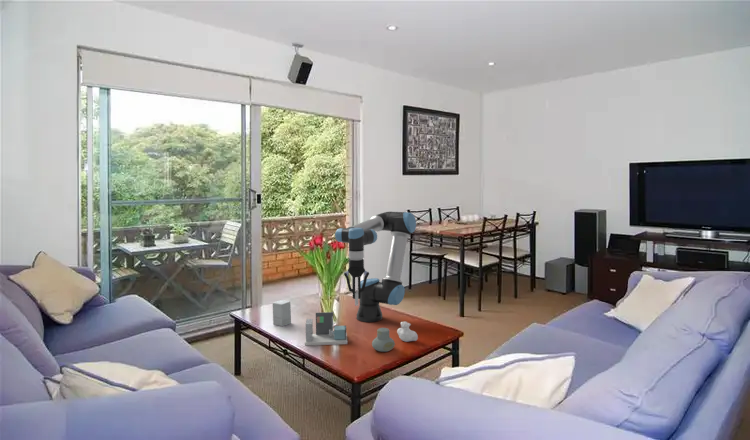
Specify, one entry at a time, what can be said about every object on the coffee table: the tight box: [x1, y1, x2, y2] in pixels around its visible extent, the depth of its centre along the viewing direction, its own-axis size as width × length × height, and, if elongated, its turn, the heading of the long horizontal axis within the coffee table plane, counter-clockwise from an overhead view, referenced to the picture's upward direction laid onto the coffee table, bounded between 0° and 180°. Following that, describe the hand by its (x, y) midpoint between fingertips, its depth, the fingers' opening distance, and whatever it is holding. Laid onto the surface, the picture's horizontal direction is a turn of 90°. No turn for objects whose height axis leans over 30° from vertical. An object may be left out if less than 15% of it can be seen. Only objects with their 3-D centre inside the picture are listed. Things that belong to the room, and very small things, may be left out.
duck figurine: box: [396, 321, 419, 343], centre depth 232 cm, size 12×8×11 cm
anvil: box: [305, 318, 314, 342], centre depth 231 cm, size 3×8×9 cm, turn 5°
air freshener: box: [371, 327, 396, 353], centre depth 220 cm, size 11×8×10 cm
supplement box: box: [272, 299, 292, 327], centre depth 259 cm, size 7×7×13 cm
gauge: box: [329, 315, 347, 340], centre depth 233 cm, size 9×8×10 cm
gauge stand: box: [304, 311, 348, 347], centre depth 232 cm, size 21×12×13 cm, turn 95°
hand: (356, 304), depth 231 cm, fingers closed
